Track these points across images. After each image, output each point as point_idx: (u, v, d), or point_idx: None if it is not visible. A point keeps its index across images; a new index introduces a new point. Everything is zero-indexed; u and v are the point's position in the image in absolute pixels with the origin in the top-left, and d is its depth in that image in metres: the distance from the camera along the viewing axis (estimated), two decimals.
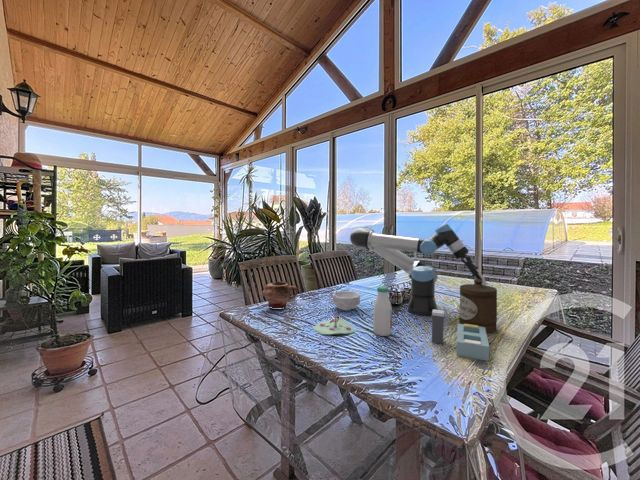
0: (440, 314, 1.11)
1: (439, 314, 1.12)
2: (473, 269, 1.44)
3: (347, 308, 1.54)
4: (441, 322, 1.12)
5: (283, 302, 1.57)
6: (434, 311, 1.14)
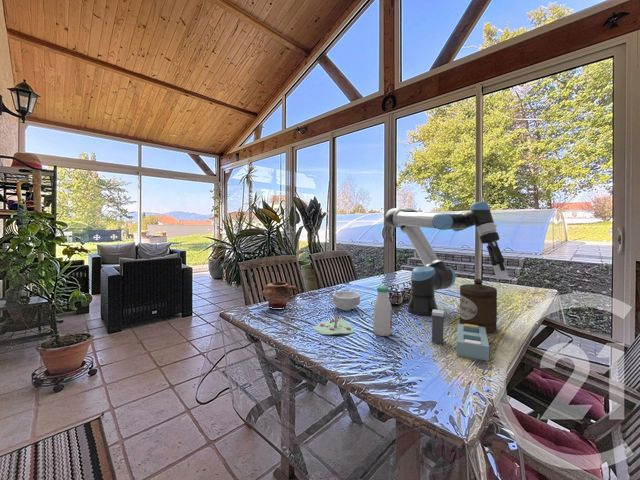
0: (440, 313, 1.11)
1: (439, 314, 1.12)
2: (500, 255, 1.22)
3: (347, 308, 1.54)
4: (441, 322, 1.12)
5: (283, 302, 1.57)
6: (434, 311, 1.14)
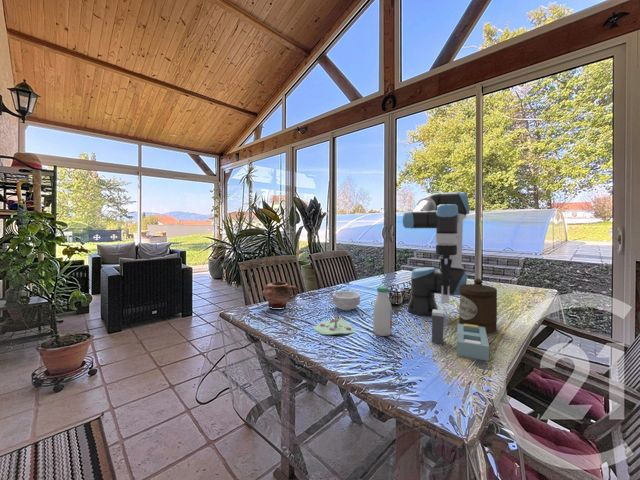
0: (440, 314, 1.11)
1: (439, 314, 1.12)
2: (447, 278, 1.03)
3: (347, 308, 1.54)
4: (441, 322, 1.12)
5: (283, 302, 1.57)
6: (434, 311, 1.14)
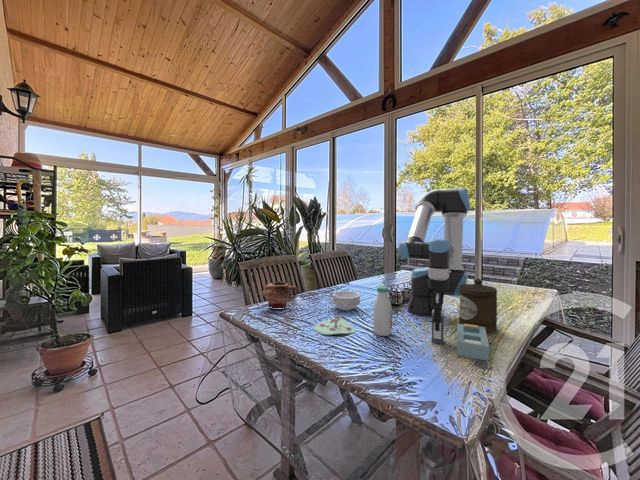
0: None
1: None
2: (438, 316, 1.08)
3: (347, 308, 1.54)
4: (441, 322, 1.12)
5: (283, 302, 1.57)
6: None
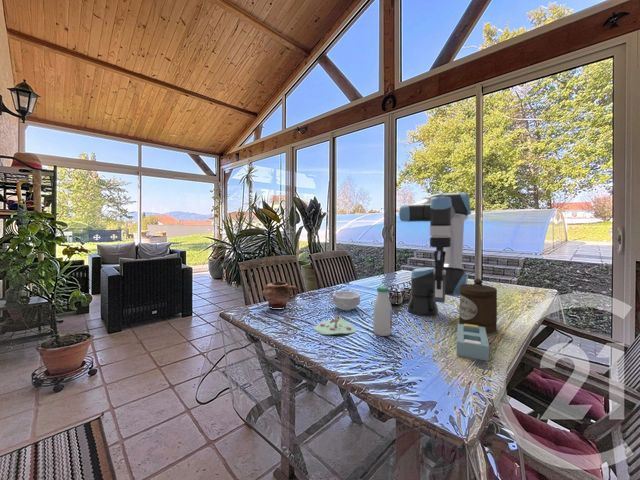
0: None
1: None
2: (439, 274, 1.07)
3: (347, 308, 1.54)
4: (443, 280, 1.11)
5: (283, 302, 1.57)
6: None
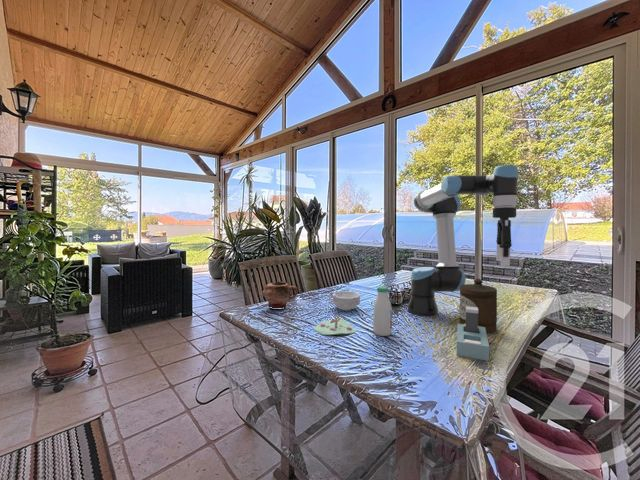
0: (475, 310, 1.10)
1: (473, 311, 1.10)
2: (508, 239, 1.00)
3: (347, 308, 1.54)
4: (476, 319, 1.10)
5: (283, 302, 1.57)
6: (468, 308, 1.12)
